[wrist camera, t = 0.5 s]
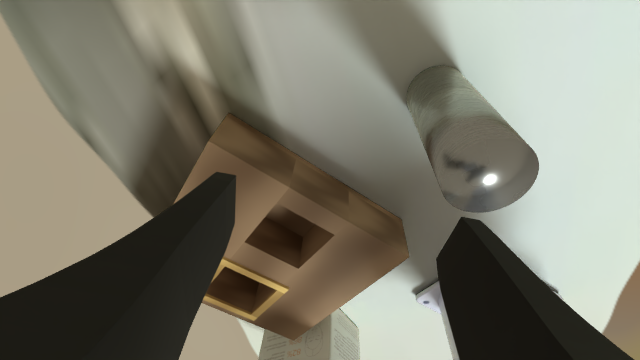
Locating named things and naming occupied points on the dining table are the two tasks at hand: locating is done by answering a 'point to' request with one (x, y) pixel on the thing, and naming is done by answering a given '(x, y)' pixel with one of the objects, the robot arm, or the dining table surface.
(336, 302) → the board
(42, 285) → the robot arm
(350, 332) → the small box
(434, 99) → the pin
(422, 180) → the dining table surface
